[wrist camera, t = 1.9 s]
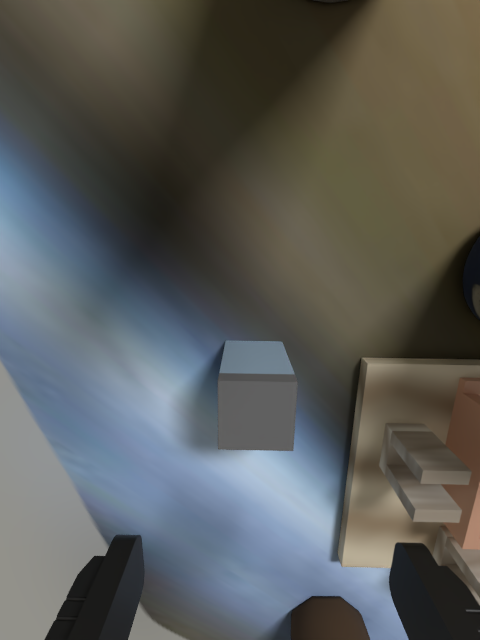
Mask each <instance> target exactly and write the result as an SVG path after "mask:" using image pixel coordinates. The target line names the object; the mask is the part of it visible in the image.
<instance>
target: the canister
mask: <svg viewBox="0 0 480 640" xmlns="http://www.w3.org/2000/svg"><path fill="white" fill-rule="evenodd" d="M463 292H464V297H465V299H466V302H467V304H468V306H469V308H470V309H471V311H472V312H473V314H474V315H475V316H476V317H477V318H478V319H479V320H480V236H479V238H478V239H477V241H476V242H475V244H474V245H473V247H472V249H471V251H470V253H469V255H468V258H467V260H466V263H465V267H464V272H463Z"/></svg>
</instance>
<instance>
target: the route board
mask: <svg viewBox="0 0 480 640" xmlns="http://www.w3.org/2000/svg"><path fill="white" fill-rule="evenodd" d="M460 378H480V360H479V359H419V358H361V366H360V375H359V383H358V391H357V399H356V407H355V415H354V424H353V432H352V440H351V448H350V456H349V464H348V473H347V481H346V489H345V497H344V505H343V513H342V522H341V530H340V538H339V546H338V556H339V560H340V563H341V566H342V567H373V568H391V565H392V559H393V553H394V548H395V544H396V543H397V542H406V543H423V544H424V545H425V546H426V547H427V548H428V549H429V551H430V553H431V554H432V556H433V558H434V559H435V561H436V562H437V564H438V566H448V567H449V568H450V569H451V570H452V571H453V572H454V573H455V574H456V575H457V576H458V577H459V578H460V579H461V580H462V581H463V582H464V583H465V584H466V585H467V587H468V588H469V590H470V591H471V593H472V594H473V596H474V597H475V599H476V600H477V602H478V603H479V605H480V550H476V549H462V548H461V547H460V545H459V544H458V542H457V541H456V540H455V538H454V537H453V535H452V534H451V533H450V531H449V530H448V528H447V527H446V526H445V524H444V523H443V522H451V523H459V521H460V517H461V513H462V510H461V508H460V507H459V506H458V505H457V503H456V502H455V501H454V500H453V499H452V497H451V496H450V495H449V494H448V492H447V491H446V490H445V489H444V488H443V486H442V485H441V484H456V485H469V481H470V477H471V473H472V471H471V470H470V469H469V468H468V467H467V466H466V465H465V464H464V463H463V462H462V461H461V460H460V459H459V458H458V457H457V456H456V455H455V454H454V453H453V452H452V451H451V450H450V449H449V448H448V447H447V446H446V445H445V444H446V439H447V434H448V430H449V425H450V421H451V416H452V411H453V407H454V402H455V397H456V393H457V388H458V383H459V379H460Z"/></svg>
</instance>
